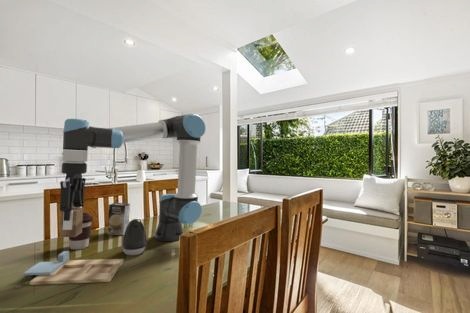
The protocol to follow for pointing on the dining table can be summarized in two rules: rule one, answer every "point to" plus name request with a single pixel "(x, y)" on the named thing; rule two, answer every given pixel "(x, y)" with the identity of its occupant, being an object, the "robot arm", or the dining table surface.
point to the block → (76, 223)
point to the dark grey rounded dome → (134, 238)
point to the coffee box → (118, 218)
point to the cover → (48, 265)
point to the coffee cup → (82, 234)
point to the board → (81, 272)
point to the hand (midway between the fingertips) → (71, 226)
